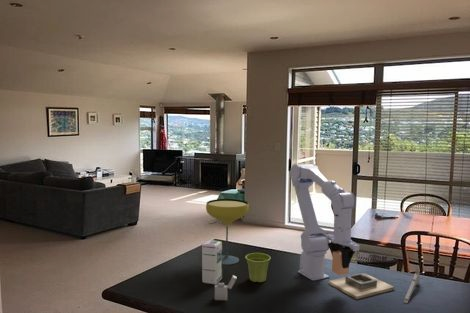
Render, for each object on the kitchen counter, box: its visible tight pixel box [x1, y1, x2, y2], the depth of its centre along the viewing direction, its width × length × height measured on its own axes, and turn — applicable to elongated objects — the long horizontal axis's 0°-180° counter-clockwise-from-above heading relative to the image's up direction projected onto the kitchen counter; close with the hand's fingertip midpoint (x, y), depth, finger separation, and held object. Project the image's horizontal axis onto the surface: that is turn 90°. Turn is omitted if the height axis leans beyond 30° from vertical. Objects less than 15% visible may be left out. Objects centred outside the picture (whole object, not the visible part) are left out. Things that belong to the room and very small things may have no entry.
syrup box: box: [201, 239, 223, 285], centre depth 135 cm, size 6×6×14 cm
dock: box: [328, 272, 395, 300], centre depth 133 cm, size 14×18×3 cm
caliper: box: [403, 267, 421, 304], centre depth 129 cm, size 20×1×6 cm, turn 144°
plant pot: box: [245, 252, 272, 283], centre depth 137 cm, size 9×9×9 cm
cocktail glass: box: [205, 198, 250, 266], centre depth 156 cm, size 18×18×25 cm
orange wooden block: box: [331, 251, 350, 276], centre depth 128 cm, size 4×4×7 cm
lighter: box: [214, 274, 237, 301], centre depth 121 cm, size 7×2×8 cm, turn 88°
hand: (340, 265), depth 128 cm, fingers closed on orange wooden block, 4 cm apart
